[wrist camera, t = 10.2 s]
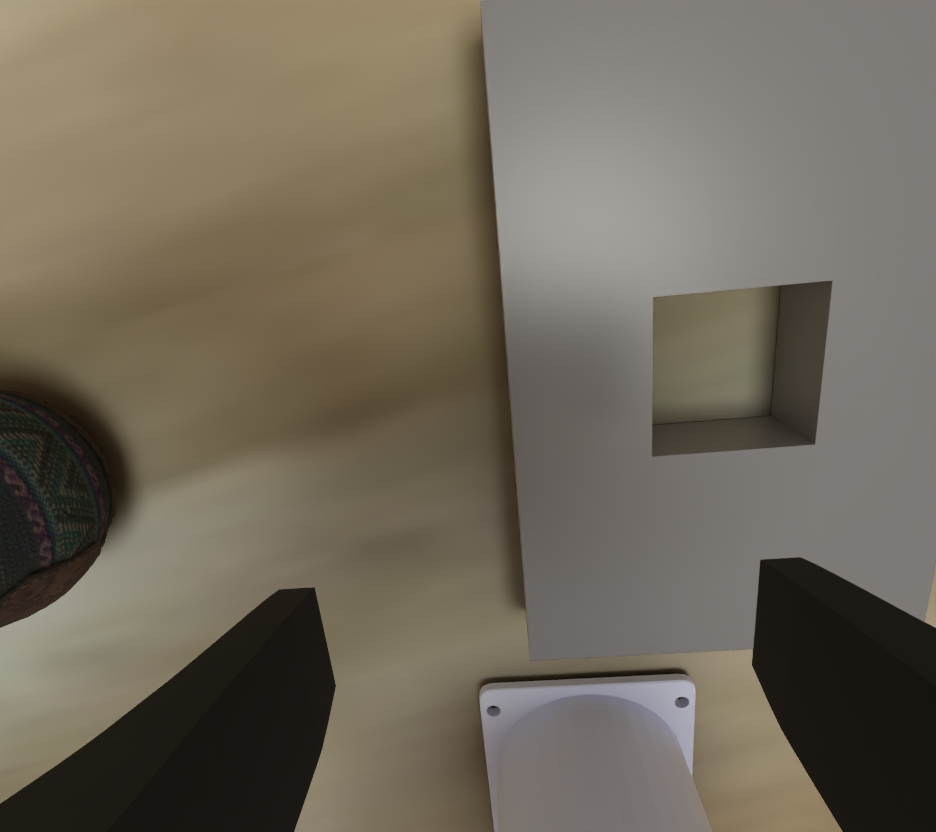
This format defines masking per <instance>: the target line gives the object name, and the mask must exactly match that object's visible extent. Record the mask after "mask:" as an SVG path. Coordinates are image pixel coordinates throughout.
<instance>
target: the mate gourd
mask: <svg viewBox="0 0 936 832" xmlns="http://www.w3.org/2000/svg"><path fill="white" fill-rule="evenodd" d="M114 486H115V485H114V484H113V479H112V475H111V473H110V470H109V467H108V465H107V462H106V460H105V458H104V457H103V454H102V453H101V451H100V450H99V448H98V446H97V445H96V443H95V442H94V441H93V440H92V438H91V437H90V436H89V434H87V433H86V432H85V431H84V430H83V429H82V428H81V427H80V426H79V425H78V424H77V423H76V422H75V421H73V420H72V419H71V418H70V417H68V416H67V415H65V414H64V413H62V412H61V411H60V410H58V409H56V408H54V407H52V406H50V405H49V404H47V402H44V401H41V400H39V399H37V398H34V397H31V396H29V395H25V394H22V393H18V392H14V391H4V390H0V628H1V627H3V626H5V625H8V624H11V623H13V622H16V621H19V620H21V619H24V618H27V617H29V616H31V615H32V614H34V613H36V612H38V611H39V610H41V609H44V608H45V607H47V606H48V605H50V604H52V603H53V602H55V601H56V600H58V599H59V598H60V597H62V596H63V595H64V594H66V593H67V592H68V591H69V590H70V589H71V588H72V587H73V586H74V585H75V584H76V583H77V582H78V581H79V580H80V579H81V578H82V576H83V575H84V574H85V573H86V572H87V571H88V569H89V568H90V567H91V566H92V565H93V563H94V562H95V560H96V558H97V557H98V556H99V555H100V552H101V547H102V546H103V545H104V543H105V539H106V536H107V532H108V528H109V526H110V524H111V523H112V519H113V517H114V515H115V503H116V501H115V491H114Z"/></svg>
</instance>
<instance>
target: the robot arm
mask: <svg viewBox="0 0 936 832" xmlns="http://www.w3.org/2000/svg"><path fill="white" fill-rule="evenodd" d="M752 666H753V668H754V670H755V673H756V675H757V677H758V679H759V682H760V684H761V686H762V689H763V691H764V693H765V695H766V698H767V700H768V702H769V704H770V706H771V708H772V710H773V713H774V715H775V717H776V719H777V721H778V723H779V725H780V727H781V729H782V731H783V733H784V735H785V736H786V738H787V740H788V741H789V743H790V745H791V747H792V748H793V750H794V752H795V753H796V755H797V757H798V758H799V760H800V762H801V763H802V765H803V767H804V768H805V770H806V772H807V773H808V775H809V777H810V778H811V780H812V782H813V783H814V785H815V787H816V788H817V790H818V792H819V793H820V795H821V797H822V798H823V800H824V801H825V803H826V805H827V806H828V808H829V810H830V811H831V813H832V815H833V816H834V818H835V820H836V821H837V823H838V824H839V826H840V828H841V829H842V831H843V832H936V628H935V627H933V626H931V625H929V624H927V623H925V622H923V621H921V620H920V619H918V618H916V617H914V616H912V615H910V614H908V613H907V612H905V611H903V610H901V609H899V608H897V607H895V606H894V605H892V604H890V603H888V602H886V601H884V600H882V599H881V598H879V597H877V596H875V595H873V594H871V593H870V592H868V591H866V590H864V589H862V588H860V587H858V586H857V585H855V584H853V583H851V582H849V581H847V580H845V579H843V578H842V577H840V576H838V575H836V574H834V573H832V572H830V571H828V570H826V569H824V568H822V567H820V566H818V565H816V564H814V563H812V562H810V561H808V560H806V559H803V558H801V557H795V558H779V559H763V560H760V570H759V583H758V595H757V608H756V621H755V633H754V646H753V659H752ZM335 687H336V685H335V680H334V675H333V671H332V666H331V662H330V657H329V652H328V648H327V643H326V638H325V634H324V629H323V624H322V620H321V615H320V610H319V606H318V601H317V597H316V592H315V587H314V588H298V589H282V590H278V591H277V592H275V593H274V594H273V595H271V596H270V597H269V598H267V599H266V600H265V601H264V602H262V603H261V604H260V605H259V606H257V607H256V608H255V609H254V610H253V611H251V612H250V613H249V614H248V615H247V616H245V617H244V618H243V619H242V620H241V621H240V622H238V623H237V624H236V625H235V626H234V627H232V628H231V629H230V630H229V631H228V632H227V633H225V634H224V635H223V636H222V637H221V638H219V639H218V640H217V641H216V642H215V643H213V644H212V645H211V646H210V647H209V648H208V649H206V650H205V651H204V652H203V653H202V654H200V655H199V656H198V657H197V658H196V659H194V660H193V661H192V662H191V663H190V664H188V665H187V666H186V667H185V668H184V669H182V670H181V671H180V672H179V673H178V674H176V675H175V676H174V677H173V678H171V679H170V680H169V681H168V682H166V683H165V684H164V685H163V686H161V687H160V688H159V689H157V690H156V691H155V692H154V693H152V694H151V695H150V696H148V697H147V698H146V699H145V700H143V701H142V702H141V703H140V704H138V705H137V706H136V707H134V708H133V709H132V710H131V711H129V712H128V713H127V714H125V715H124V716H123V717H122V718H120V719H119V720H118V721H116V722H115V723H114V724H113V725H111V726H110V727H109V728H107V729H106V730H105V731H104V732H102V733H101V734H100V735H98V736H97V737H95V738H94V739H93V740H91V741H90V742H89V743H87V744H86V745H85V746H83V747H82V748H80V749H79V750H78V751H76V752H75V753H73V754H72V755H71V756H69V757H68V758H66V759H65V760H64V761H62V762H61V763H59V764H58V765H57V766H55V767H54V768H52V769H51V770H49V771H48V772H46V773H45V774H43V775H42V776H40V777H39V778H38V779H36V780H35V781H33V782H32V783H30V784H29V785H27V786H26V787H24V788H23V789H21V790H20V791H18V792H17V793H16V794H14V795H13V796H11V797H10V798H8V799H7V800H5V801H4V802H2V803H1V804H0V832H294V830H295V827H296V824H297V822H298V819H299V816H300V813H301V810H302V807H303V804H304V801H305V798H306V795H307V792H308V789H309V787H310V784H311V781H312V778H313V775H314V772H315V769H316V766H317V763H318V760H319V757H320V754H321V751H322V747H323V742H324V738H325V734H326V730H327V725H328V721H329V716H330V711H331V706H332V701H333V697H334V692H335ZM695 696H696V689H695V685H694V683H693V681H692V679H691V678H690V677H689V676H687V675H685V674H664V675H644V676H624V677H604V678H584V679H564V680H544V681H524V682H504V683H490V684H486V685H484V686H483V687H482V688H481V689H480V693H479V702H480V711H481V720H482V729H483V737H484V746H485V755H486V764H487V772H488V781H489V790H490V798H491V807H492V816H493V825H494V832H712V829H711V827H710V824H709V821H708V819H707V816H706V813H705V811H704V808H703V805H702V803H701V800H700V797H699V795H698V792H697V789H696V787H695V784H694V781H693V779H692V771H693V746H694V721H695ZM679 697H683V698H682V699H677V698H679ZM490 706H497V708H490Z"/></svg>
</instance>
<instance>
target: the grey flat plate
mask: <svg viewBox="0 0 936 832" xmlns="http://www.w3.org/2000/svg"><path fill="white" fill-rule="evenodd" d="M481 32H482V49H483V62H484V75H485V88H486V101H487V114H488V127H489V140H490V153H491V166H492V179H493V192H494V205H495V219H496V232H497V245H498V258H499V271H500V284H501V297H502V310H503V323H504V336H505V349H506V362H507V375H508V388H509V401H510V415H511V428H512V441H513V454H514V467H515V480H516V493H517V506H518V519H519V532H520V545H521V558H522V571H523V584H524V597H525V610H526V621H527V631H528V641H529V651H530V661H537V660H556V659H575V658H594V657H613V656H632V655H651V654H670V653H689V652H708V651H727V650H746V649H753V646H754V633H755V621H756V608H757V595H758V583H759V570H760V560H763V559H779V558H795V557H801V558H803V559H806V560H808V561H810V562H812V563H814V564H816V565H818V566H820V567H822V568H824V569H826V570H828V571H830V572H832V573H834V574H836V575H838V576H840V577H842V578H843V579H845V580H847V581H849V582H851V583H853V584H855V585H857V586H858V587H860V588H862V589H864V590H866V591H868V592H870V593H871V594H873V595H875V596H877V597H879V598H881V599H882V600H884V601H886V602H888V603H890V604H892V605H894V606H895V607H897V608H899V609H901V610H903V611H905V612H907V613H908V614H910V615H912V616H914V617H916V618H918V619H920V620H921V621H923V622H925V617H926V612H927V606H928V601H929V596H930V591H931V586H932V581H933V575H934V570H935V565H936V0H482V1H481ZM778 285H781V292H780V304H779V317H778V330H777V343H776V355H775V368H774V381H773V394H772V406H771V416H763V417H750V418H737V419H725V420H712V421H699V422H686V423H674V424H661V425H652V395H653V297H660V296H670V295H681V294H692V293H703V292H714V291H724V290H735V289H746V288H757V287H767V286H778Z"/></svg>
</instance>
